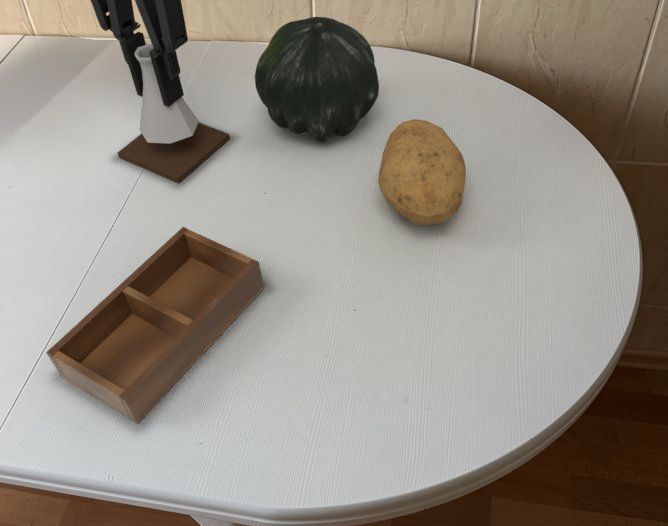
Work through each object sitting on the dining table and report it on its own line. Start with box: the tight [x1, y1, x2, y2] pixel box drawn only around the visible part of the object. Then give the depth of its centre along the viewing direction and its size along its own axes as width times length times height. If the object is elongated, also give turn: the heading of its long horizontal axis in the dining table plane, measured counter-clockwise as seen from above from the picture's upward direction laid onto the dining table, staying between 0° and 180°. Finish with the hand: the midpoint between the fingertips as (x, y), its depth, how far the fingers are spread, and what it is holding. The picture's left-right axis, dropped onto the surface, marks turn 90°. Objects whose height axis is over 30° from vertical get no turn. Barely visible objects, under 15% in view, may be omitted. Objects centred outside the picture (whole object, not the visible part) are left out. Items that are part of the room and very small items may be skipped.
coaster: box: [117, 121, 231, 184], centre depth 88 cm, size 10×10×1 cm
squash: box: [254, 16, 380, 143], centre depth 86 cm, size 14×15×15 cm
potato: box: [377, 118, 467, 226], centre depth 77 cm, size 10×14×8 cm
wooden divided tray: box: [46, 226, 265, 425], centre depth 69 cm, size 10×19×4 cm, turn 147°
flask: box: [134, 43, 200, 144], centre depth 82 cm, size 7×7×10 cm
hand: (160, 94), depth 83 cm, fingers closed on flask, 3 cm apart
